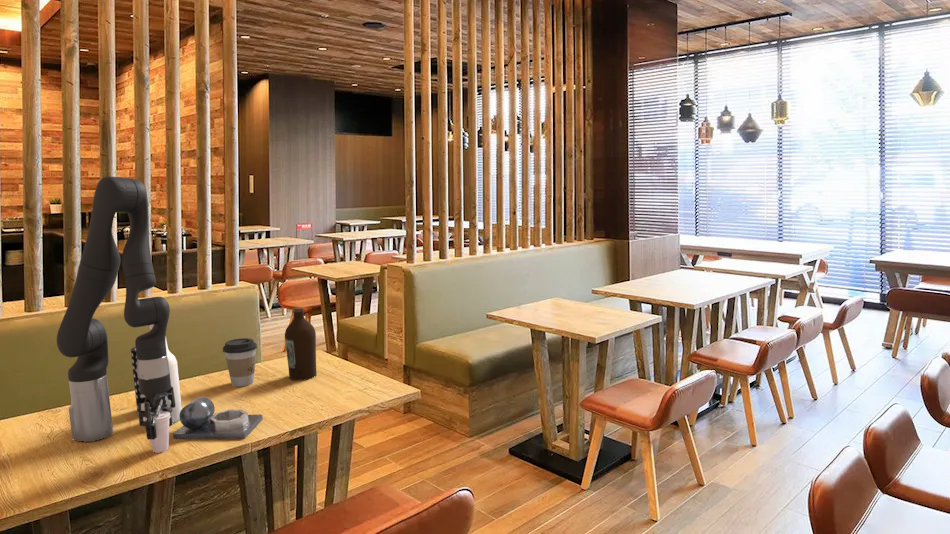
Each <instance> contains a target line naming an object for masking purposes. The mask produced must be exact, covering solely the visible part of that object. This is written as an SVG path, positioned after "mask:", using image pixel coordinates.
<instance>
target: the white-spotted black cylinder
mask: <svg viewBox="0 0 950 534" xmlns="http://www.w3.org/2000/svg"><path fill="white" fill-rule="evenodd" d="M130 354H131V355H130V356H131V364H132V365H131V367H132V376H133V385H134V392H135V405H136V413H137V415H139V412H138V404H139V403H144V402H145V395H143V394H141V393H140V392H139V383H138V374H137V355H136V346H135V347H132V348H131V349H130Z"/></svg>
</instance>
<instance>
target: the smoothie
mask: <svg viewBox="0 0 950 534" xmlns="http://www.w3.org/2000/svg"><path fill="white" fill-rule="evenodd" d="M170 417H171V416H170V412H167V411H160V412H159V416H158V417H157V418H156V421H155V426H156V435H157V438H156V439H154V440H149V441H150V444H151V448H152V452H153V453H154V452H155V453H154V454H161V453H160V452H162V453H165V452H167V451H168V450H169V441H170V439H169V438H170V427H169V419H170ZM144 419H145V417H143V420H144ZM151 421H152V417H151ZM164 451H165V452H164Z"/></svg>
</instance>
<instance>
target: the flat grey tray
mask: <svg viewBox="0 0 950 534" xmlns="http://www.w3.org/2000/svg"><path fill="white" fill-rule="evenodd" d="M215 408H216V407H215V404H214V402H213V401H212V400H211V399H210V398H209V397H206V396H198V397H196V398H194V399H193V400H192V401H190V402H189V403H188V404H187V405H186V404H185V406H184V407H183V408H182V410H181V412H180V420H179V421H180V424H182V426H181V427H180V428H178V429H177V430H176V431H175V432H174V433H172V438H173V440H222V439H223V440H231V439H233V440H235V439H236V440H237V439H239V440H241V439H242V440H243V439H246V438H247V437H248V436H249V435H250V434H251V433H252V432H253V431H254V430H255V429H256V428H257V426H258V425H259V424H260V423H261V422H262V421H263V420H264V419H263V418H264V417H263V414H249V412H247V411H245V410H244V409H225V410H222V411H219V412H215V410H216V409H215Z"/></svg>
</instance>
